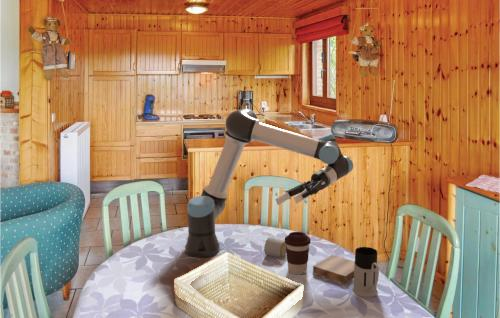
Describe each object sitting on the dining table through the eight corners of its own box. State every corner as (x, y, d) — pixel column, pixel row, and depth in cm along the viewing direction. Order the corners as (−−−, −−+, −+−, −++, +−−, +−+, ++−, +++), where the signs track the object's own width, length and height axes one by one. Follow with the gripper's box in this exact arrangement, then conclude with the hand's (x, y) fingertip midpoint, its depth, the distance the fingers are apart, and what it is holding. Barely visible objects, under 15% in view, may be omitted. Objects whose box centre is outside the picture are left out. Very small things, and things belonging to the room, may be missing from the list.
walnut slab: (313, 273, 170) (313, 266, 170) (331, 261, 180) (332, 254, 180) (345, 283, 161) (345, 276, 160) (363, 271, 171) (363, 263, 171)
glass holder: (371, 284, 161) (373, 245, 158) (389, 303, 147) (391, 261, 144) (348, 286, 159) (349, 247, 157) (364, 305, 145) (365, 263, 143)
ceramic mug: (281, 260, 182) (282, 243, 181) (263, 257, 186) (263, 240, 184) (290, 252, 191) (291, 235, 190) (273, 249, 195) (273, 232, 194)
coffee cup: (292, 278, 166) (292, 240, 163) (280, 268, 175) (280, 232, 172) (314, 273, 170) (315, 236, 167) (301, 263, 179) (302, 228, 176)
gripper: (346, 183, 173) (307, 208, 163) (309, 188, 195) (273, 210, 185) (338, 166, 173) (299, 190, 163) (302, 173, 195) (266, 194, 185)
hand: (285, 201), depth 174 cm, fingers open, 13 cm apart
